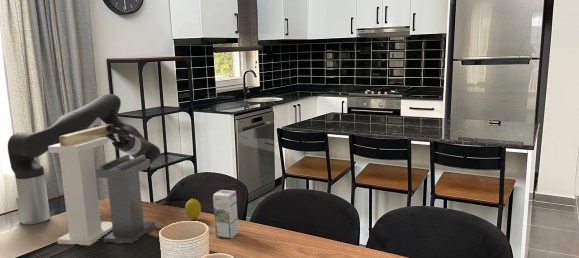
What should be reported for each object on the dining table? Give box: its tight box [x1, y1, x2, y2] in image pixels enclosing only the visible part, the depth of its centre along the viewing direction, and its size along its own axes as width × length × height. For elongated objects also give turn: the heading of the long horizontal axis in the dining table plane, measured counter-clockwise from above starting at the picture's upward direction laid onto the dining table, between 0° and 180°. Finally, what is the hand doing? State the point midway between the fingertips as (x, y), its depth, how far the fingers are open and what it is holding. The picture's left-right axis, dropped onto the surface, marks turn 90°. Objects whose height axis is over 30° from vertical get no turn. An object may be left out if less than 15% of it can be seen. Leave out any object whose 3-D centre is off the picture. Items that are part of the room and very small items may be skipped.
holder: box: [95, 154, 157, 243], centre depth 143 cm, size 10×15×26 cm, turn 169°
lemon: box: [184, 198, 202, 221], centre depth 156 cm, size 6×6×8 cm
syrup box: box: [212, 189, 239, 239], centre depth 141 cm, size 6×6×14 cm
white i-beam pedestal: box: [48, 137, 113, 246], centre depth 144 cm, size 12×16×32 cm
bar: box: [59, 124, 114, 146], centre depth 146 cm, size 3×24×3 cm, turn 169°
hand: (101, 127), depth 153 cm, fingers open, 4 cm apart
